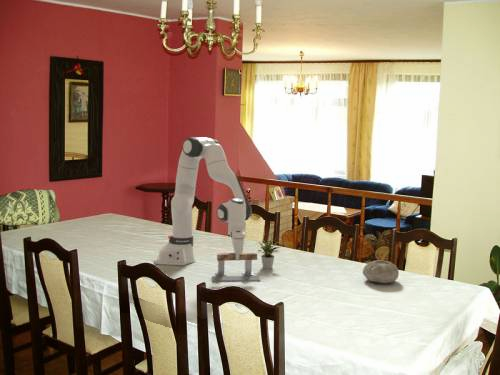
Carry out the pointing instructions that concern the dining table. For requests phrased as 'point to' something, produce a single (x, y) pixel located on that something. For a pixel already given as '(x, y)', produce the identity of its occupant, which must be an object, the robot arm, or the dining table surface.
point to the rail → (232, 255)
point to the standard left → (221, 269)
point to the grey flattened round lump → (381, 271)
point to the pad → (234, 278)
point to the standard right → (248, 268)
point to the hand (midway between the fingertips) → (236, 258)
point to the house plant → (268, 254)
